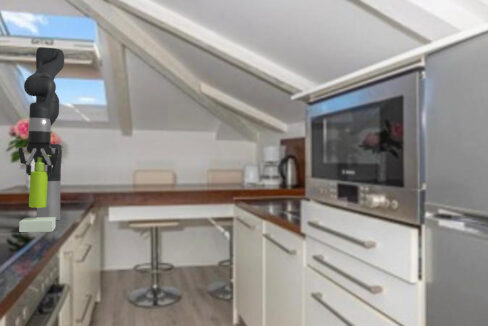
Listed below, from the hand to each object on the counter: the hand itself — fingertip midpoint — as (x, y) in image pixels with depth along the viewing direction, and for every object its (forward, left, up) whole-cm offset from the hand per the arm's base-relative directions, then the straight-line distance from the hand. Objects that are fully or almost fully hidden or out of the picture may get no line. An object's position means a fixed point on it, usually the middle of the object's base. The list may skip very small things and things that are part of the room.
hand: (39, 175), depth 154 cm
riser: (0, 0, -21) cm, 21 cm away
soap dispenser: (0, 0, -12) cm, 12 cm away
